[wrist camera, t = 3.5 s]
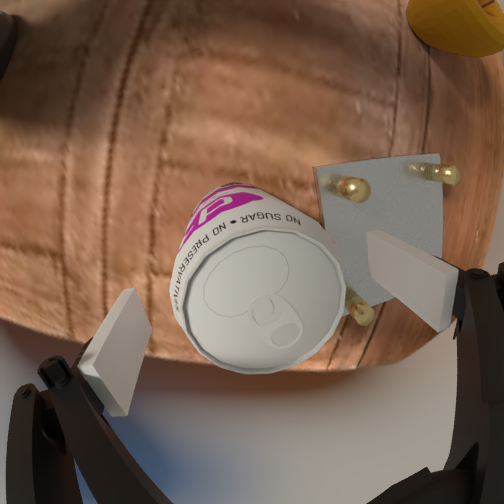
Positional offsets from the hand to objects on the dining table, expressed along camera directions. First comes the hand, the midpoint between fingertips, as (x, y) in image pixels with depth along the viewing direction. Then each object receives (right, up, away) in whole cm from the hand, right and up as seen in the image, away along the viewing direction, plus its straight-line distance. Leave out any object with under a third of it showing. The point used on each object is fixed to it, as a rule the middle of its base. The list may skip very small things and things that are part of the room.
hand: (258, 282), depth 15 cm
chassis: (+15, +4, +13) cm, 20 cm away
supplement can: (-2, +4, +11) cm, 12 cm away
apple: (+21, +30, +6) cm, 37 cm away
